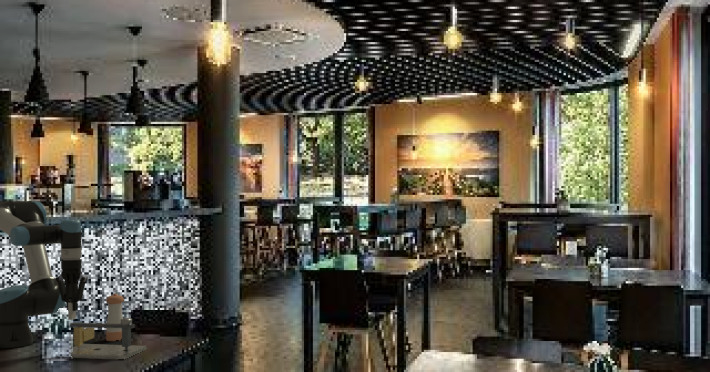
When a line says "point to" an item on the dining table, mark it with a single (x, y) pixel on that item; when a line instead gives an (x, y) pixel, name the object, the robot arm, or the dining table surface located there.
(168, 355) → the dining table surface
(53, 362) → the dining table surface
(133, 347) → the bolt plate
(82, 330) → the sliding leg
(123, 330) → the divider beam
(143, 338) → the dining table surface
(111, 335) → the salt shaker
